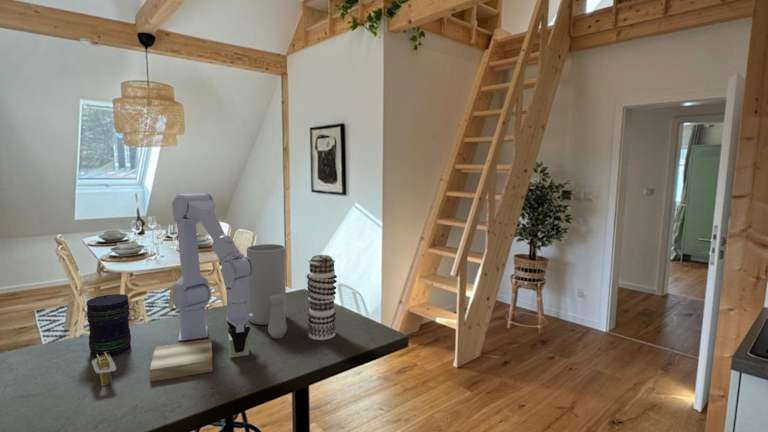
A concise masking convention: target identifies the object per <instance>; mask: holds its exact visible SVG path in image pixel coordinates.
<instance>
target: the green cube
mask: <svg viewBox="0 0 768 432" xmlns="http://www.w3.org/2000/svg"><path fill="white" fill-rule="evenodd" d="M228 355H229V358H238V357H242V356H243V357H244V356H249V355H250V339H249V334H248V335H247V338H246V342H245V348H244V352H239V353H236V352H235V349H234V344H233V340H232V337H231V335H230V334H229V333H228Z"/></svg>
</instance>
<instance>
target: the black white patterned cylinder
mask: <svg viewBox="0 0 768 432" xmlns="http://www.w3.org/2000/svg"><path fill="white" fill-rule="evenodd" d="M335 262H336V260H335V259H333V257H332V256H330V255H327V254H317V255H316V254H315V255H314V256H312V257H311V259H310V260H308V263H309V271H308V273H307V275H306V279H307V282H306V284H307V287H306V288H307V291H308V292H307V296H308V298H307V300H308V301H309V307H308V314H307V317H308V319H307V320H308V323H307V327H308V329H307V331H308V335H307V336H308V338H309V339H312V340H316V341H325V340H330V339H332V338H334V337H335V336H336V322H335V321H336V315H337V314H336V311H335V305H334V304H335V300H336V294H337V292H336V289H337V286H335V284H337V282H338V281H337V280H336V279H337V277H338V275H336V274H335Z"/></svg>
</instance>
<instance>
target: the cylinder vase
mask: <svg viewBox="0 0 768 432" xmlns="http://www.w3.org/2000/svg"><path fill="white" fill-rule="evenodd" d="M246 257H248V258H249V259H250V261H251V263H252V273H251V275H250V276H248V304H249V314H251V313H252V314H253V318H249V319H248V322H250V323H251V324H254V325H260V326H267V325H269V319H270V313H271V307H272V303H270V297H271V296H272V295H275V294H282V295H283V296H284V302H283V308H284V314H285V318H286V316H287V311H286V310H287V308H286V307H287V305H286V300H287V299H286V290H287V289H286V246H285V245H282V244H272V243H265V244H256V245H255V244H254V245H251V246H247V247H246Z"/></svg>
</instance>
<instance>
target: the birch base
mask: <svg viewBox="0 0 768 432" xmlns="http://www.w3.org/2000/svg"><path fill="white" fill-rule="evenodd" d="M212 347H213V346H212V338H210V339H204V340H203V339H202V340H196V341H189V342H182V343H180V342H179V343H175V344H166V345H161V346H160V345H158V346H155V348H154V352H153V355H152V358H151V359H152V360H151V363H150V368H149V382H157V381H162V380H169V379H174V378H179V377H182V378H183V377H186V376H192V375H199V374H206V373H211V372H214V371H213V349H212Z"/></svg>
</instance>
